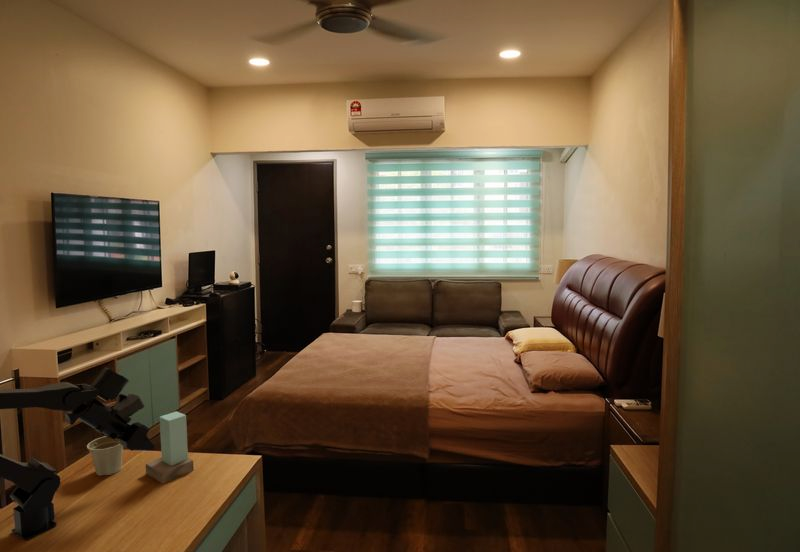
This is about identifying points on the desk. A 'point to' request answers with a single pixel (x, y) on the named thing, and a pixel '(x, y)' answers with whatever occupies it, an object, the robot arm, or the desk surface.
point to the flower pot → (106, 455)
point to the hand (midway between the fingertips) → (144, 443)
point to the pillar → (173, 438)
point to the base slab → (168, 469)
